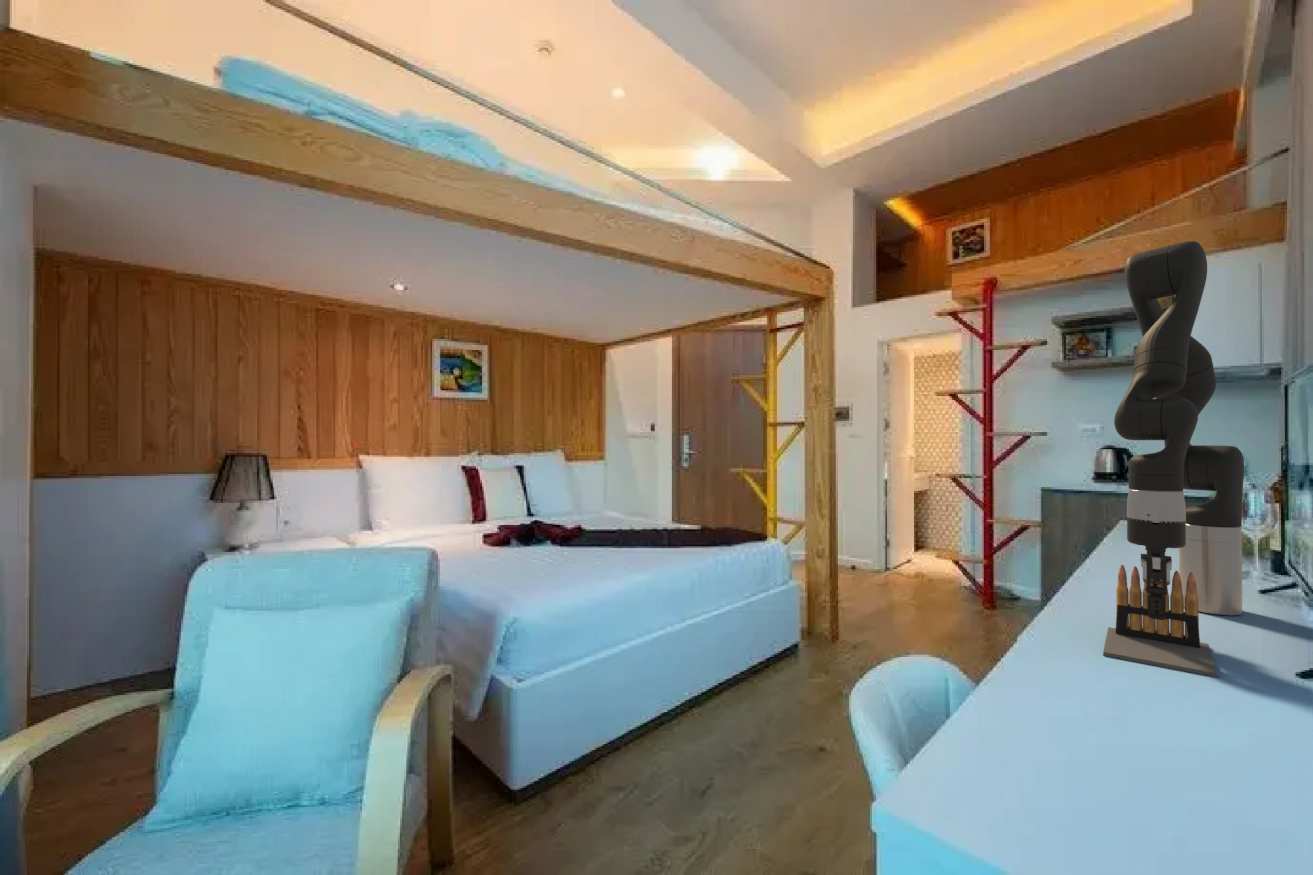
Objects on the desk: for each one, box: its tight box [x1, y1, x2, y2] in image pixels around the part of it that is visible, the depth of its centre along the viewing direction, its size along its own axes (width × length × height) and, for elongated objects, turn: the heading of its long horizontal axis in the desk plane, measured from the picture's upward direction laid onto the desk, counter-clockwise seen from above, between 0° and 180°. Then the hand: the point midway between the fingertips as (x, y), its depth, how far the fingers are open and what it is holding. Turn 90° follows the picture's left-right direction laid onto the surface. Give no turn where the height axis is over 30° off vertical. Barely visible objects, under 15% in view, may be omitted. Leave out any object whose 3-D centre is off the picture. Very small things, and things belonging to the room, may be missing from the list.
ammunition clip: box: [1115, 564, 1201, 648], centre depth 97 cm, size 11×2×12 cm, turn 49°
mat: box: [1102, 626, 1219, 678], centre depth 93 cm, size 16×13×1 cm
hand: (1156, 612), depth 97 cm, fingers open, 8 cm apart
